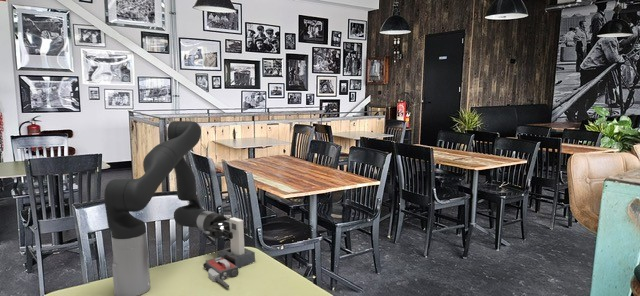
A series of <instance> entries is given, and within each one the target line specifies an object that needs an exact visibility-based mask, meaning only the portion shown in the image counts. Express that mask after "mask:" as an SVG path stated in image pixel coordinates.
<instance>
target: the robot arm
mask: <svg viewBox="0 0 640 296" xmlns="http://www.w3.org/2000/svg"><path fill="white" fill-rule="evenodd" d="M166 131H167V132H166V134H167V140H166V141H163V142H161V143H158V144H157V145H155V146H154V147H152V149H151V150H150V151H149V152H148V153H146V155H145V156H144V159H143V161H142V162H143V163H142V166H143V171H144V174H143V175H142V176H141V177H138V178H114V179H111V180H109V182H108V183H107V184H106V186H105V189H104V194H103V195H104V196H103V198H104V206H105V213H106V214H105V215H106V220H107V227H108V229H109V231H110V236H111V249H112V257H113V259H112V260H113V262H112V265H111V267H112V268H111V269H112V279H113V280H112V281H113V290H114V291H113V292H114V293H113V294H114V296H140V295H143V294H145V293H147V292H148V291H149V290H150V289H151V280H150V277H151V276H150V266H149V251H148V239H147V238H148V237H147V226H146V223H145V222H144V221H143V220H141V219H139V218H137V217H135V216H133V214H131V213H130V212H132V213H135V212H140V211H143V210H144V209H145V208H146V207H147V205H148V204H149V203H150V201H151V200H152V198H153V197H154V195H155V193H156V192H157V190H158V189H159V187H160V186H161V184H162V183H163V182H164V181H165V179H166V178H167V176H168V175H169V174H170V173H171V172H172V171H173V170H174V172H175V180H176V194H177V199H178V200H179V201H183V202H188V203H189V204H186V205H182V206H179V207H177V208H176V209H175V210H174V212H173V218H174V219H173V220H174V221H175V223H177V224H178V225H179V226H181V227H189V228H196V229H199V230H201V232H204V233H205V236H207V237H210V238H214V239H220V238H227V239H229V240H230V239H232V238H233V233H232V232H230V221H229V220H228V219H227V218H226V217H225V215H223V214H220V213H216V212H214V211H210V210H205V209H203V208H202V205H201V203H200V200H199V197H198V193H197V180H196V176H195V173H194V171H193V169H192V168H191V167H190V165H189V163H188V162H187V160H186V159H185V157H184V156H186V155H187V154H188V153H189V152H190V151H191V150H192V149H194V148H195V147H196V146H197V144H198V143H199V142H200V140H201V136H202V129H201V125H200V124H199V123H198V122H195V121H192V120H191V121H190V120H173V121H171V122H169V124H168V125H167V130H166ZM243 227H244V235H249V228H248V227H247V226H246V222H245V221H243Z"/></svg>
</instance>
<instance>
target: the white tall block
mask: <svg viewBox="0 0 640 296" xmlns="http://www.w3.org/2000/svg"><path fill="white" fill-rule="evenodd" d="M228 221H230V232H232V233H233V238H232V239H229V241H230V247H231V253H232V254H235V255H237V256H239V255H242V254H245V250H244V248H245V234H244V227H243V222H244V220H243V219H241V218H237V217H234V216H233V217H231V218H229V220H228Z"/></svg>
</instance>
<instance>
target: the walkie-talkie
mask: <svg viewBox="0 0 640 296" xmlns="http://www.w3.org/2000/svg"><path fill="white" fill-rule="evenodd" d="M202 266H203V268H205V270H206V271H208V273H207V275H208V276H207V277H208V278H209V279H210V280H211V281H212V282H215V283H216V282H217V283H219V284H221V285H222V286H224V287H225V288H227V289H229V288H230V285H229V283H227V282H225V280H226V279H229V278H233V277H234V278H235V277H237V276H239V268H238V267H237V266H236V265H234V264H232V263H231V262H229V261H228V260H226V259H225V258H223V257H218V256H217V257H213V258H210V259H207V260H206V261H205V263H202Z"/></svg>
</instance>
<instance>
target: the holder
mask: <svg viewBox="0 0 640 296" xmlns="http://www.w3.org/2000/svg"><path fill="white" fill-rule="evenodd" d="M244 250H245V254H242V255H239V256H237V255H235V254H232V253H231V246H230V247H227V248H223V249H221V250H218V251H217V257H223V258H225V259H226V260H228V261H229V262H231V263H232V264H234V265H236V266H237V267H238V269H240V268H243V267H245V266H248V265H251V264H253V262H254V263H256V255H255V254H256V252H255V251H253V250H251V249H248V248H246V247H244ZM250 263H251V264H250Z"/></svg>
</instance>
